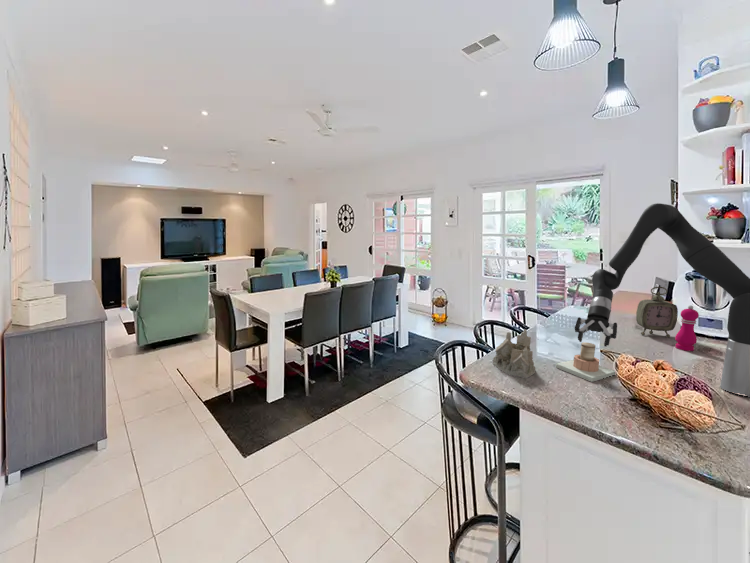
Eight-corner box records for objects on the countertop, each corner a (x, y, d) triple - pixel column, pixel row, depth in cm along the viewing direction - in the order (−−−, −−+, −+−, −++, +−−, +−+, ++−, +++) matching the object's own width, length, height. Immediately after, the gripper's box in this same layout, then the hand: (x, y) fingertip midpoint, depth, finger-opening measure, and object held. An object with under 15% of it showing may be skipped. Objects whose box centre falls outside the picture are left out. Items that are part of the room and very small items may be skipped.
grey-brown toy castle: (496, 356, 144) (499, 322, 141) (539, 367, 135) (543, 331, 132) (484, 370, 132) (487, 333, 129) (529, 384, 123) (534, 344, 119)
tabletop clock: (639, 336, 175) (646, 287, 171) (632, 331, 184) (638, 284, 180) (674, 338, 171) (681, 288, 167) (665, 333, 180) (671, 286, 176)
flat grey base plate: (616, 375, 127) (617, 362, 126) (591, 381, 121) (593, 368, 121) (579, 361, 140) (581, 350, 139) (556, 367, 134) (557, 355, 133)
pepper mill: (699, 352, 152) (706, 307, 149) (680, 350, 154) (686, 306, 151) (688, 346, 159) (694, 304, 156) (670, 345, 161) (676, 303, 158)
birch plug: (595, 368, 129) (598, 345, 128) (587, 370, 127) (590, 347, 126) (584, 364, 133) (586, 341, 132) (576, 366, 131) (578, 343, 130)
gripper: (579, 302, 146) (571, 334, 139) (620, 307, 137) (614, 342, 130) (580, 312, 151) (573, 344, 144) (620, 317, 142) (614, 352, 135)
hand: (592, 343), depth 137 cm, fingers open, 8 cm apart
